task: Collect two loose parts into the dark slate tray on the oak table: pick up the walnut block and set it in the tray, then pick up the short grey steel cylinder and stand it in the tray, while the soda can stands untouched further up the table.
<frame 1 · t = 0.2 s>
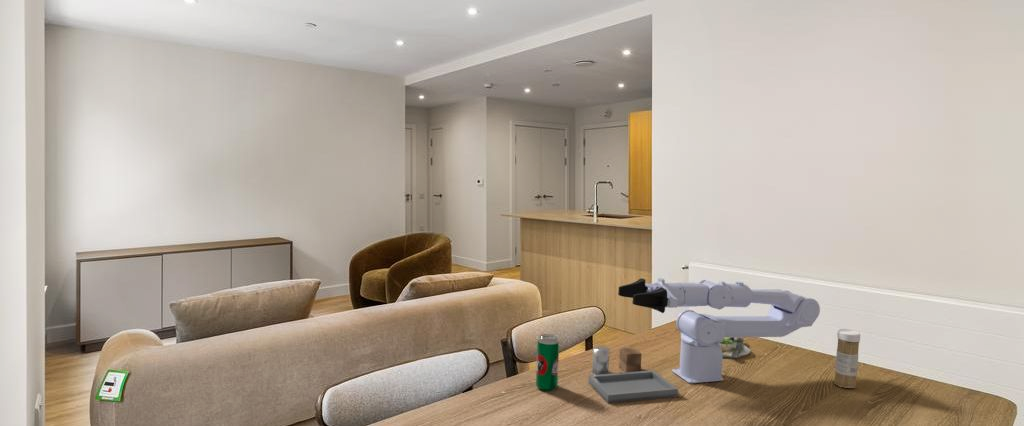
hand: (625, 295, 123), 21 cm above the table, tool horizontal, fingers open, 7 cm apart
tray: (631, 389, 121), on the table
sprinkles bottle: (844, 386, 126), on the table
steel cylinder: (600, 372, 131), on the table
salad plate: (716, 349, 152), on the table
walnut block: (629, 370, 133), on the table
soda can: (546, 388, 121), on the table
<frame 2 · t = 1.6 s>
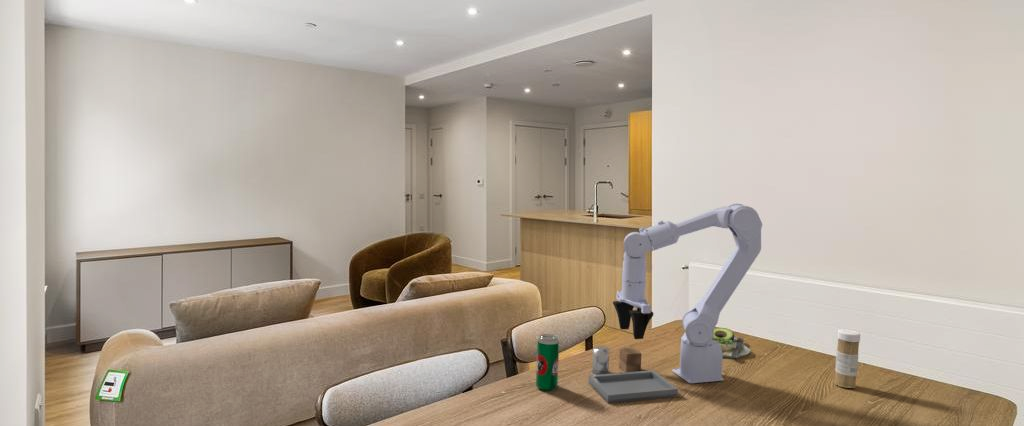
hand: (631, 333, 132), 9 cm above the table, tool pointing down, fingers open, 7 cm apart
nothing on the table moved.
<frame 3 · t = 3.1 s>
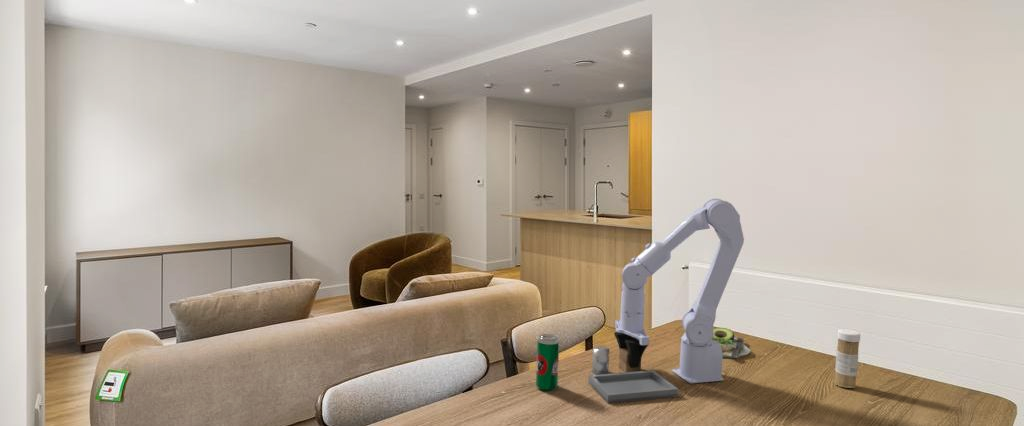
hand: (629, 363, 133), 2 cm above the table, tool pointing down, fingers closed on walnut block, 4 cm apart
walnut block: (629, 369, 133), on the table, touching gripper
everything else where it was.
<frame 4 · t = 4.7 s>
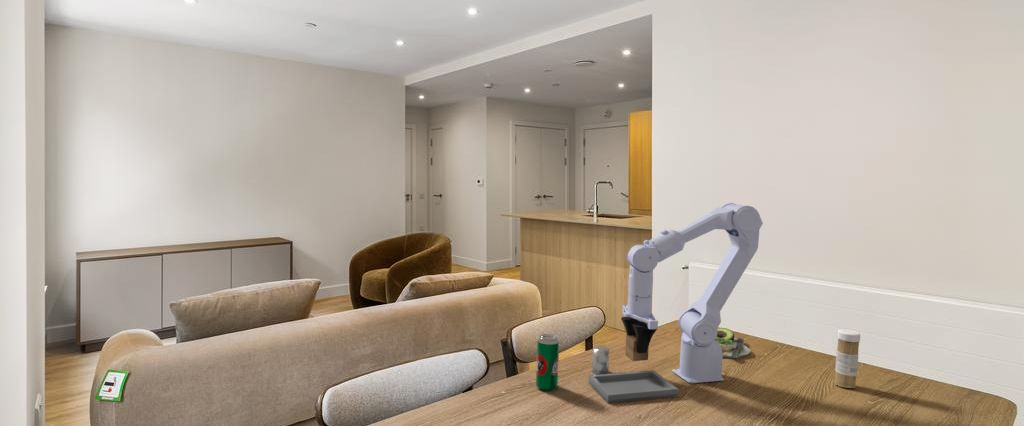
hand: (637, 349, 128), 7 cm above the table, tool pointing down, fingers closed on walnut block, 4 cm apart
walnut block: (636, 357, 128), point 5 cm above the table, touching gripper
everything else where it was.
when the fingers open (3 cm above the table, at t = 6.3 s): walnut block stays where it is, resting on tray.
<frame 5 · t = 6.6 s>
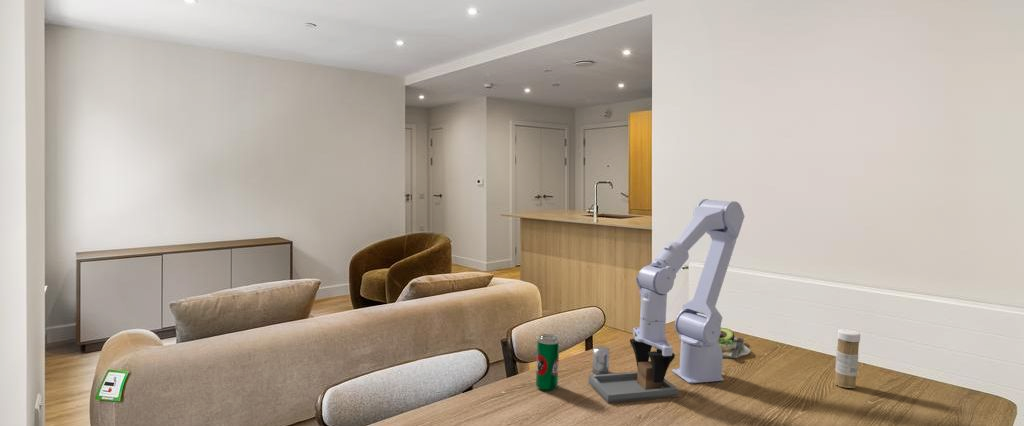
hand: (650, 375, 122), 3 cm above the table, tool pointing down, fingers open, 7 cm apart
walnut block: (648, 385, 122), point 1 cm above the table, touching tray
everything else where it was.
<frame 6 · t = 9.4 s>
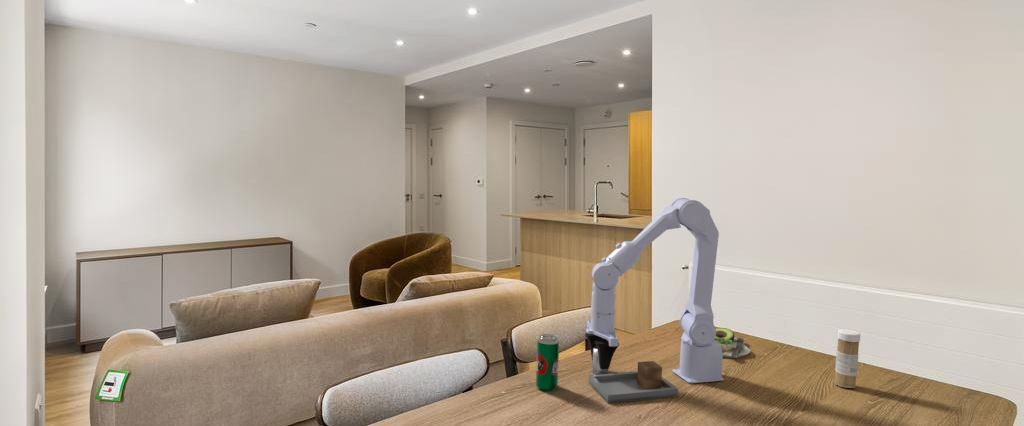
hand: (600, 365, 131), 2 cm above the table, tool pointing down, fingers closed on steel cylinder, 4 cm apart
steel cylinder: (600, 372, 131), on the table, touching gripper
everything else where it was.
when the fingers open (3 cm above the table, at t = 12.4 s): steel cylinder stays where it is, resting on tray.
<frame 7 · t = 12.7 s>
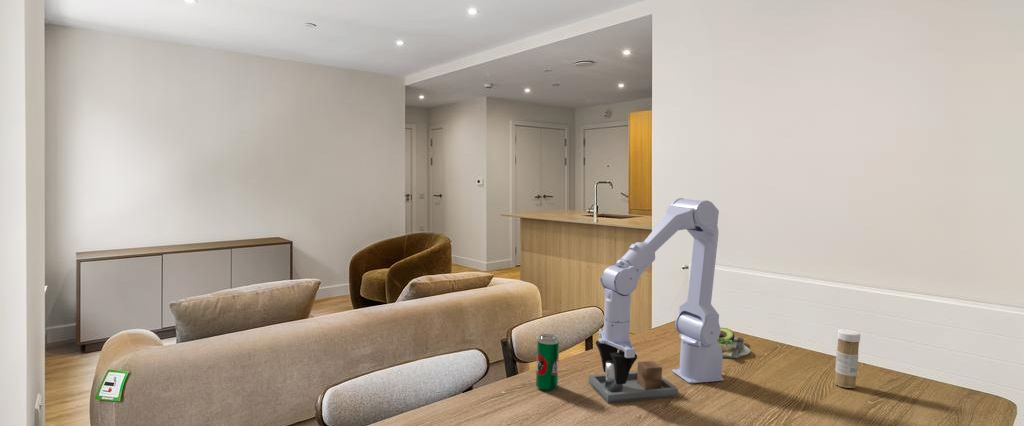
hand: (614, 377, 120), 3 cm above the table, tool pointing down, fingers open, 6 cm apart
steel cylinder: (613, 388, 120), point 1 cm above the table, touching tray
everything else where it was.
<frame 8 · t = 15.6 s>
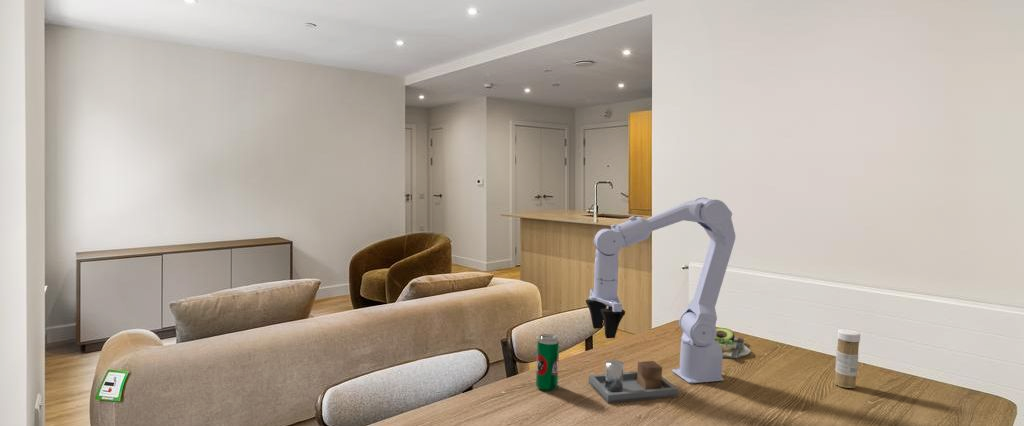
hand: (603, 332, 129), 10 cm above the table, tool pointing down, fingers open, 7 cm apart
nothing on the table moved.
at the end: steel cylinder inside the target area on the tray (4.6 cm from its centre), point 0.6 cm above the tray's base; steel cylinder tilted 1°; walnut block inside the target area on the tray (4.3 cm from its centre), point 0.6 cm above the tray's base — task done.
